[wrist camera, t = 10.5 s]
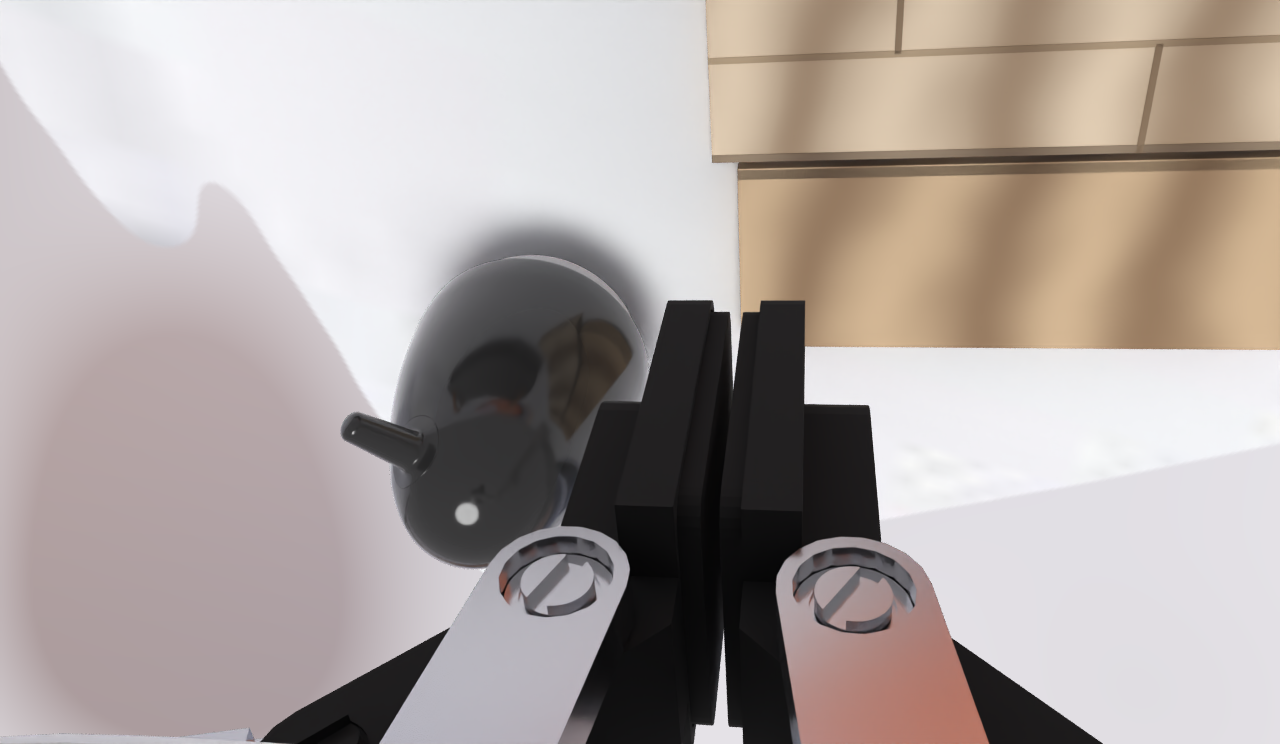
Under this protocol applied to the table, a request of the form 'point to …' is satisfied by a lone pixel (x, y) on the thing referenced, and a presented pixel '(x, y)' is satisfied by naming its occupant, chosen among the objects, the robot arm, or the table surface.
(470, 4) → the table surface
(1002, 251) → the plank
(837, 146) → the laid boards
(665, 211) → the table surface
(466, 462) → the pump dispenser
